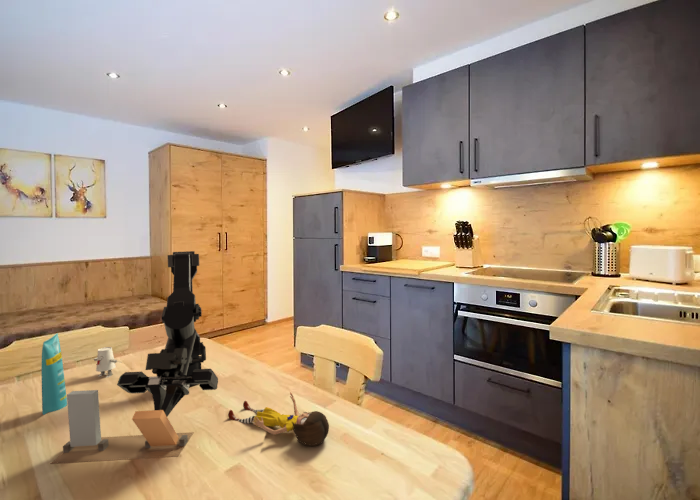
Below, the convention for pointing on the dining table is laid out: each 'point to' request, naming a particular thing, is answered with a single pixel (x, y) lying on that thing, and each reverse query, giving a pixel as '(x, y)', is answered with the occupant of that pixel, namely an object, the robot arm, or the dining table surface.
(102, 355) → the toy figure
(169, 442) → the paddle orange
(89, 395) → the grey tall block
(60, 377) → the tube
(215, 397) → the dining table surface
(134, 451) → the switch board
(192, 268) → the robot arm
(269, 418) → the figurine
